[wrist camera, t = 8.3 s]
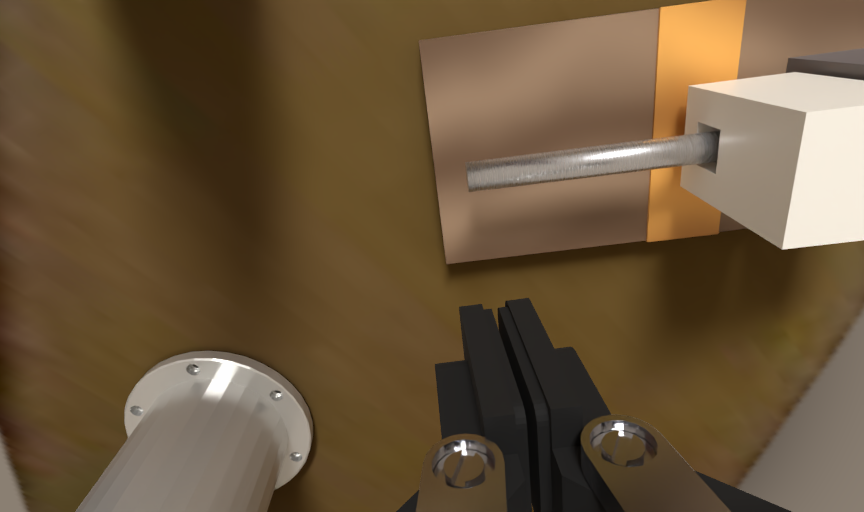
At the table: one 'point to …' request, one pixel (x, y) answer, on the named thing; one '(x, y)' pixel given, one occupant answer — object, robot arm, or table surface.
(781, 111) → the sleeve
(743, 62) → the board
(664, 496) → the robot arm
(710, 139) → the metal rod
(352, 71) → the table surface
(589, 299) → the table surface
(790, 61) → the connector block
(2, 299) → the table surface
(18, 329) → the table surface
